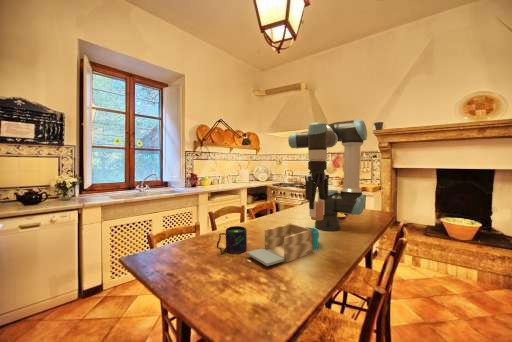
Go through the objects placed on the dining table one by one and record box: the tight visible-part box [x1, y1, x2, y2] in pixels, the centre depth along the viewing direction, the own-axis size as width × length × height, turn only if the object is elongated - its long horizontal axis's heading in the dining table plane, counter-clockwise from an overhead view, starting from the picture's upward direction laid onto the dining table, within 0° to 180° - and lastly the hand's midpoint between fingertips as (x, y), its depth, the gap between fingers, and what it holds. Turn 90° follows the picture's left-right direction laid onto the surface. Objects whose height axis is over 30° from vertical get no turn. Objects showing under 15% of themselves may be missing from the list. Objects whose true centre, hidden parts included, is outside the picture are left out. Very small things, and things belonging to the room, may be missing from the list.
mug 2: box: [307, 227, 320, 250], centre depth 114 cm, size 12×8×8 cm
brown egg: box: [310, 200, 323, 221], centre depth 97 cm, size 5×5×7 cm
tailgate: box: [246, 247, 285, 267], centre depth 98 cm, size 1×14×10 cm
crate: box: [264, 223, 314, 263], centre depth 106 cm, size 17×14×10 cm
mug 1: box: [216, 225, 248, 255], centre depth 108 cm, size 15×10×10 cm, turn 117°
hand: (317, 215), depth 97 cm, fingers closed on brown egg, 5 cm apart
